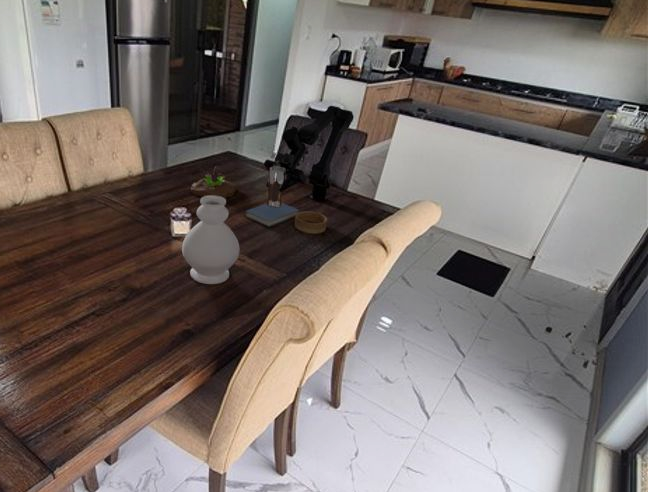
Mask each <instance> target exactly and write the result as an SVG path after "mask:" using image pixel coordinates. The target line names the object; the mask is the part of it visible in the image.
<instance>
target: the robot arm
mask: <svg viewBox="0 0 648 492" xmlns="http://www.w3.org/2000/svg"><path fill="white" fill-rule="evenodd" d="M354 118H355V116H354V113H353V111H352V110H348V109H344V108H341V107H340V106H335V105H329V106H328V107H327V109H326V110H325V111H324V112H323V113H322V114H321V115H320V116H318V117H317V118H316V119H315V120H314V121H313V122H312V123H309V124H305V125H303V126H302V127H300V128H299V129H298V127H297V126H292V127H291V128H288V129H286V130H285V131H284V132H283V133H282V136H281V137H282V141H283V142H284V143H285V145H286V147H287V149H288V150H289V151H287V152H285V153H281V152H277V151H276V153H275V156H274V158H273V160H271V159H268V158H267V159H266V160H265V161H264V162H263V166H264V167H265V169H266V170H267V172H269V171H270V167H273V166H279V167H284V168H286V181H285V182H284V184H283V186H282V187H281V189H280V192H284V191H286V190H288V189H289V188H291V187H293V186H295V185H299V183H300V184H301V185H304V184H305V183H306V181H307V175H306V173H305V172H304V171H303V170H301V169H299V168H297V167H300V165H301V163H300V162H301V160H302V159H303V157H304V155H309V147H308V146H313V145H315V143H316V142H317V141H318V140H319V138H320V134H321V133H322V132H323V131H324V130H325V129H326V128H327V127H328V126H329V125H330V124H331V129H330V133H329V135H328V138H327V140H326V143H325V145H324V147H323V151H322V153H321V156H320V158H319V160H318V162H316V163H313V164H312V166H311V169H310V171H309V174H308V183H309V185H312V187H311V194H308V195H307V197H308V198H309V199H312V200H313V201H314V202H321V201H327V200H328V198H327V197H326V195H327V189H330V188H331V186H332V179H331V178H330V177H331V176H330V175H331V167H330V166H331V163H332V160H333V158H334V156H335V153H336V150H337V148H338V145H339V143H340V141H341V138H342V135H343V133H344V132H346V131H347V130H349V128H350V126H351V124H352V123H353V121H354ZM306 145H308V146H306ZM276 162H277V163H276ZM277 164H278V165H277ZM266 188H268V180H267V181H266Z"/></svg>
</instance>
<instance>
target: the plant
mask: <svg viewBox="0 0 648 492" xmlns="http://www.w3.org/2000/svg"><path fill="white" fill-rule="evenodd" d="M219 168H220V166H219V165H218V164H217V165H215V166H214V168H213V172H207V174H205V177H204V178H202V179H200V180H198V181H197V182H193V184H191V187H190V192H191V193H192V194H193V195H194V196H199V197H204V196H209V195H214V196H220V197H223V198H224V199H225V200H227V198H232V197H234V195H235V193H236V192H237V190H238V186H237V184H235V183H234V182H231V181H228V180H226V179H225V178H226V175H225V174H224V173H218V174H217V170H219Z"/></svg>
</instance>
